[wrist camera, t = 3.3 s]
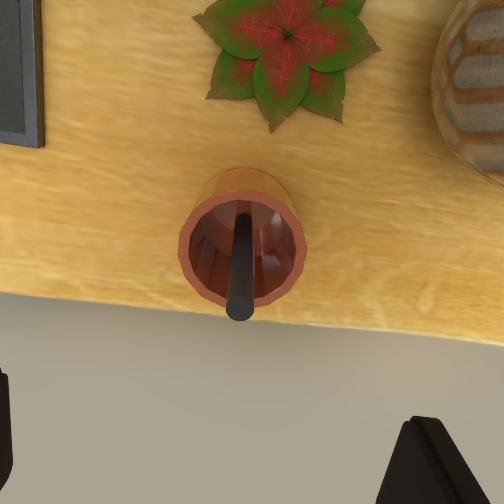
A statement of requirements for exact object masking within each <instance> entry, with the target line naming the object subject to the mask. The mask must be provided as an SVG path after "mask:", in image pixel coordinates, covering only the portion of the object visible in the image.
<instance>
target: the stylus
mask: <svg viewBox="0 0 504 504" xmlns="http://www.w3.org/2000/svg"><path fill="white" fill-rule="evenodd" d="M226 312H227V314H228V316H229V317H230V318H231V319H233V320H235V321H245V320H247V319H249V318H250V317H251V316H252V315H253V313H254V278H253V236H252V219H251V217H250V216H249V215H248V214H245V213H242V214H239V215H238V216H237V217H236V219H235V226H234V235H233V245H232V254H231V263H230V272H229V282H228V291H227V300H226Z"/></svg>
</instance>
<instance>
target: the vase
mask: <svg viewBox="0 0 504 504" xmlns="http://www.w3.org/2000/svg"><path fill="white" fill-rule="evenodd" d="M431 100H432V107H433V112H434V116H435V120H436V123H437V126H438V128H439V130H440V133H441V135H442V136H443V138H444V140H445V142H446V143H447V145H448V146H449V148H450V149H451V151H452V152H453V153H454V155H455V156H456V157H457V158H458V159H459V160H460V161H461V162H462V163H463V164H464V165H465V166H466V167H467V168H469V169H470V170H471V171H472V172H474V173H475V174H477V175H478V176H480V177H481V178H483V179H484V180H486V181H488V182H490V183H492V184H494V185H496V186H498V187H500V188H502V189H504V0H460V2H459V3H458V4H457V6H456V7H455V9H454V11H453V12H452V14H451V16H450V18H449V20H448V22H447V24H446V26H445V28H444V30H443V32H442V35H441V37H440V40H439V43H438V46H437V49H436V53H435V56H434V61H433V66H432V73H431Z"/></svg>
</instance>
